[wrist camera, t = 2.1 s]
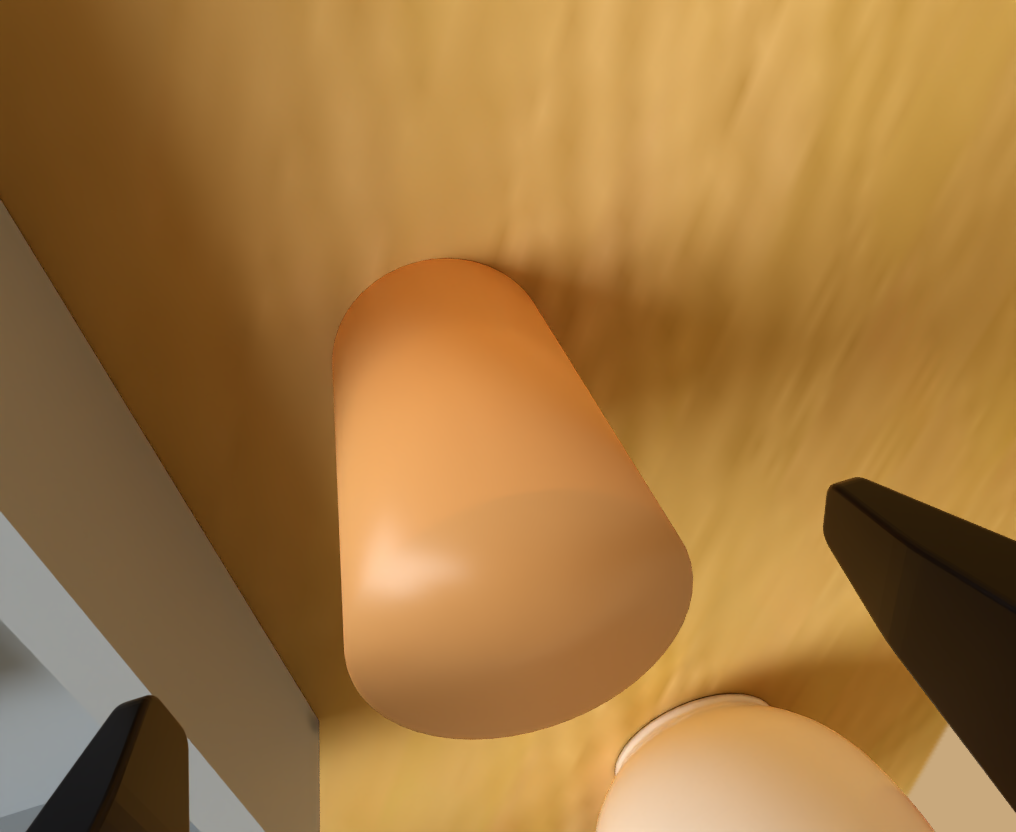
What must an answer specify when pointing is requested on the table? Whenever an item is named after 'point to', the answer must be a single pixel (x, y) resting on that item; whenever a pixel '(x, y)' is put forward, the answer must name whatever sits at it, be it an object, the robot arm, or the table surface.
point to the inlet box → (121, 592)
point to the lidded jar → (749, 776)
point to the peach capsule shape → (488, 515)
